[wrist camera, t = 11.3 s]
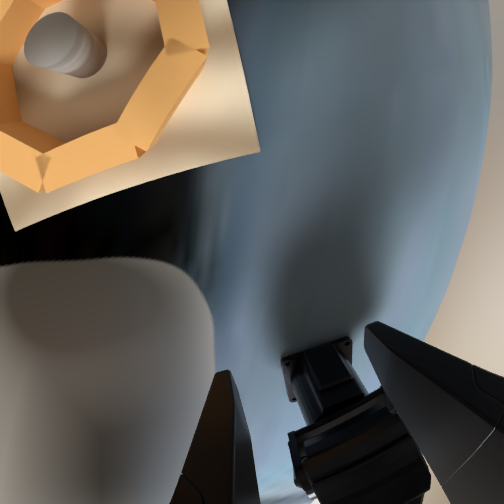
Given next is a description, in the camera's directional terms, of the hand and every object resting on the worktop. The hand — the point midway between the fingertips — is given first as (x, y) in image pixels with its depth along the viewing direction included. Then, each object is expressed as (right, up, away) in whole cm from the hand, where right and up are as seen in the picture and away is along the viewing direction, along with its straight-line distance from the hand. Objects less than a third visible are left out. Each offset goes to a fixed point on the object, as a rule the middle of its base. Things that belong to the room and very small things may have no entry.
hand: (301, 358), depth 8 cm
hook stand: (-10, +14, +5) cm, 18 cm away
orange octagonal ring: (-10, +13, +4) cm, 17 cm away
